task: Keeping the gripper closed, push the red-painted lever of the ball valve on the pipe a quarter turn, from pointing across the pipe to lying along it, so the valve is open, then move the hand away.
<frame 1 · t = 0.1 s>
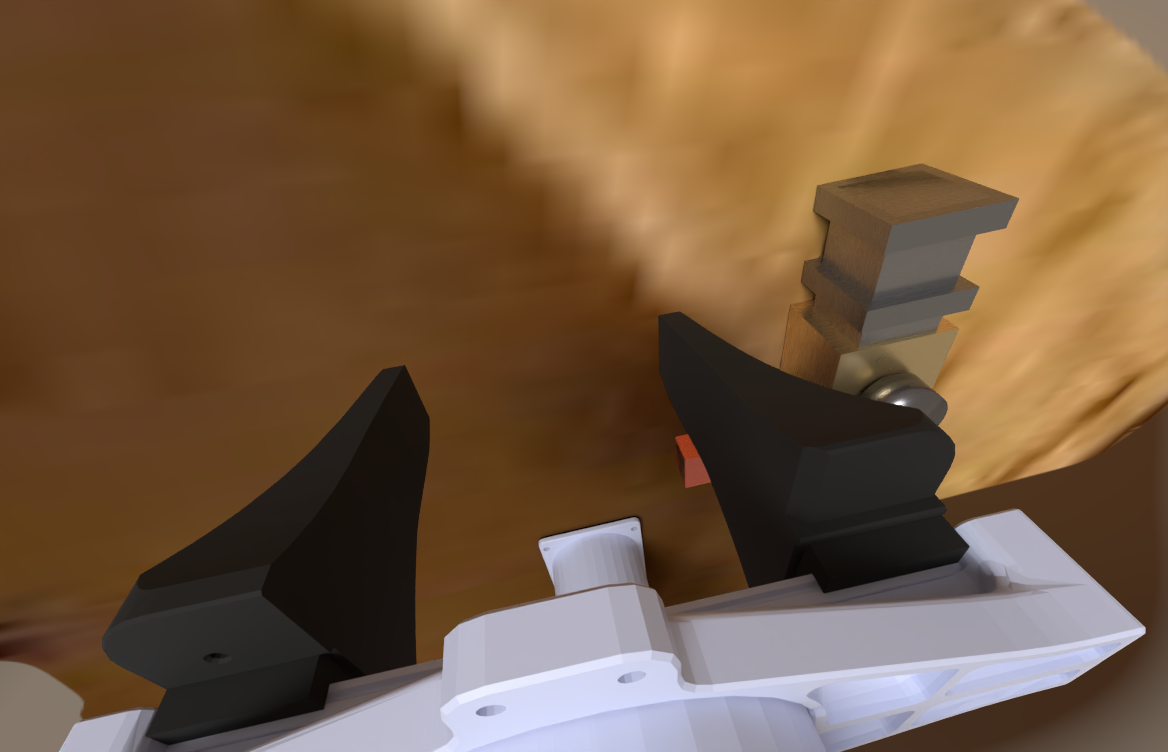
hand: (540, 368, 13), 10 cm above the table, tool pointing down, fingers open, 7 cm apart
lever: (806, 432, 23), point 6 cm above the table, hinge at 0.0°
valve: (829, 343, 28), on the table
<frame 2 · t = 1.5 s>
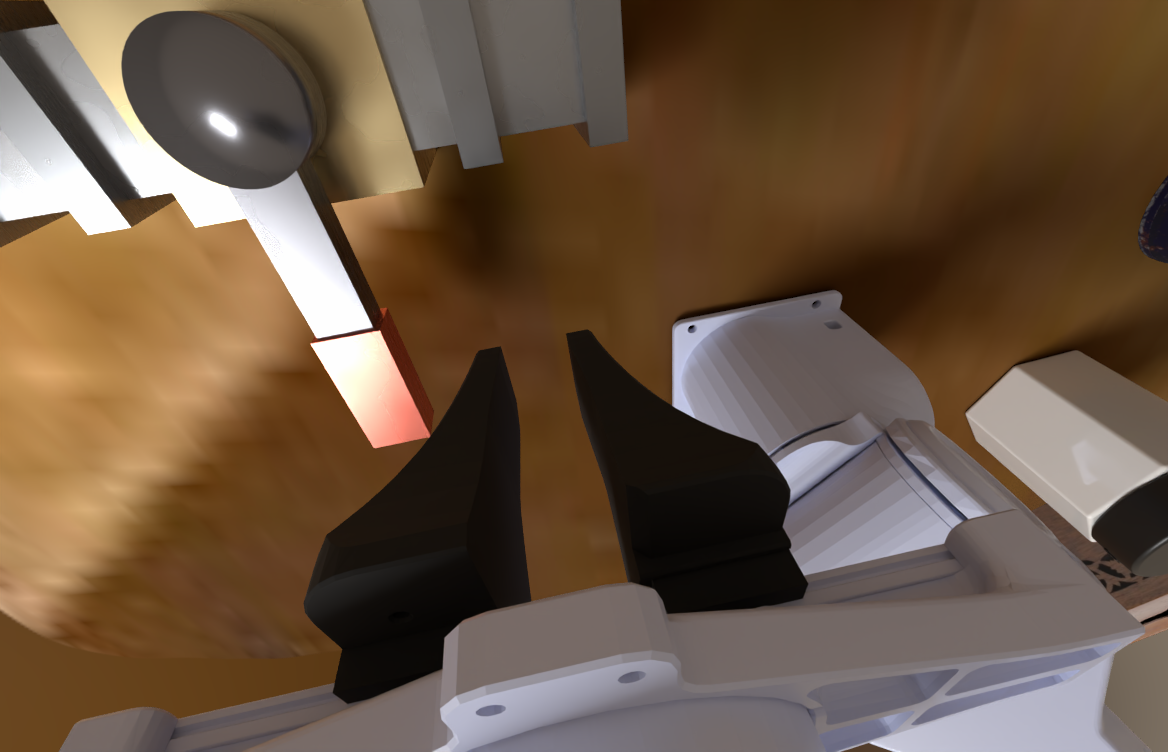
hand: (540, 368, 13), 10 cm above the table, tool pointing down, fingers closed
tissue box cover: (1075, 511, 50), on the table
lever: (328, 279, 15), point 6 cm above the table, hinge at 0.0°
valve: (308, 75, 16), on the table
jar: (1018, 395, 35), on the table
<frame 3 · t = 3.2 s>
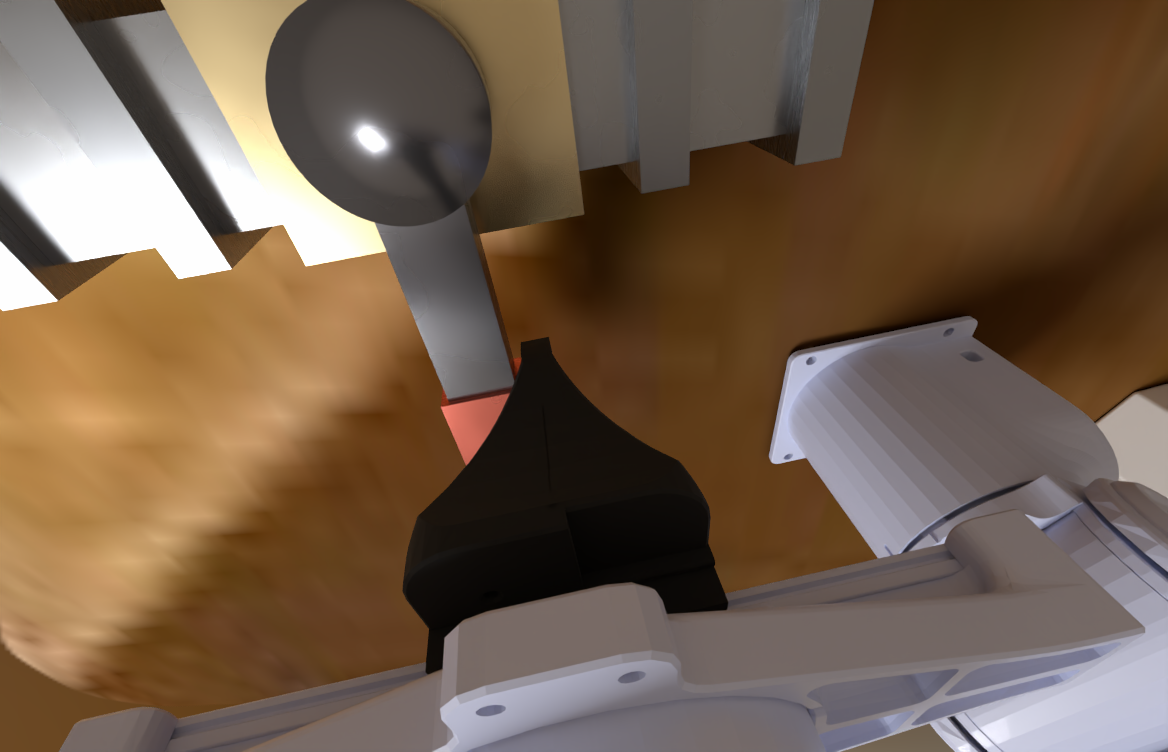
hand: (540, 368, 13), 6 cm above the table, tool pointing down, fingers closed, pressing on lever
lever: (466, 329, 12), point 6 cm above the table, hinge at 0.2°, touching gripper
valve: (425, 77, 13), on the table
jar: (1129, 421, 32), on the table
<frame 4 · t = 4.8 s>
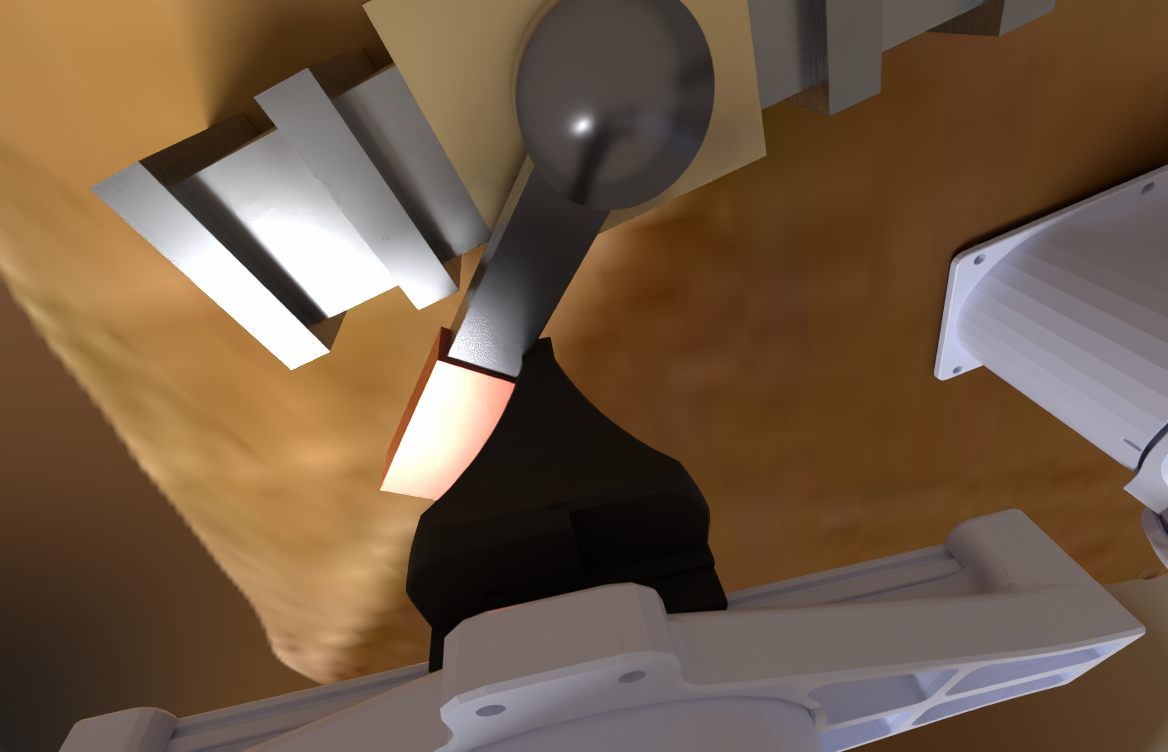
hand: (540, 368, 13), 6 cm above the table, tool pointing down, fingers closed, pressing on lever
lever: (506, 302, 11), point 6 cm above the table, hinge at 51.7°, touching gripper
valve: (563, 67, 14), on the table
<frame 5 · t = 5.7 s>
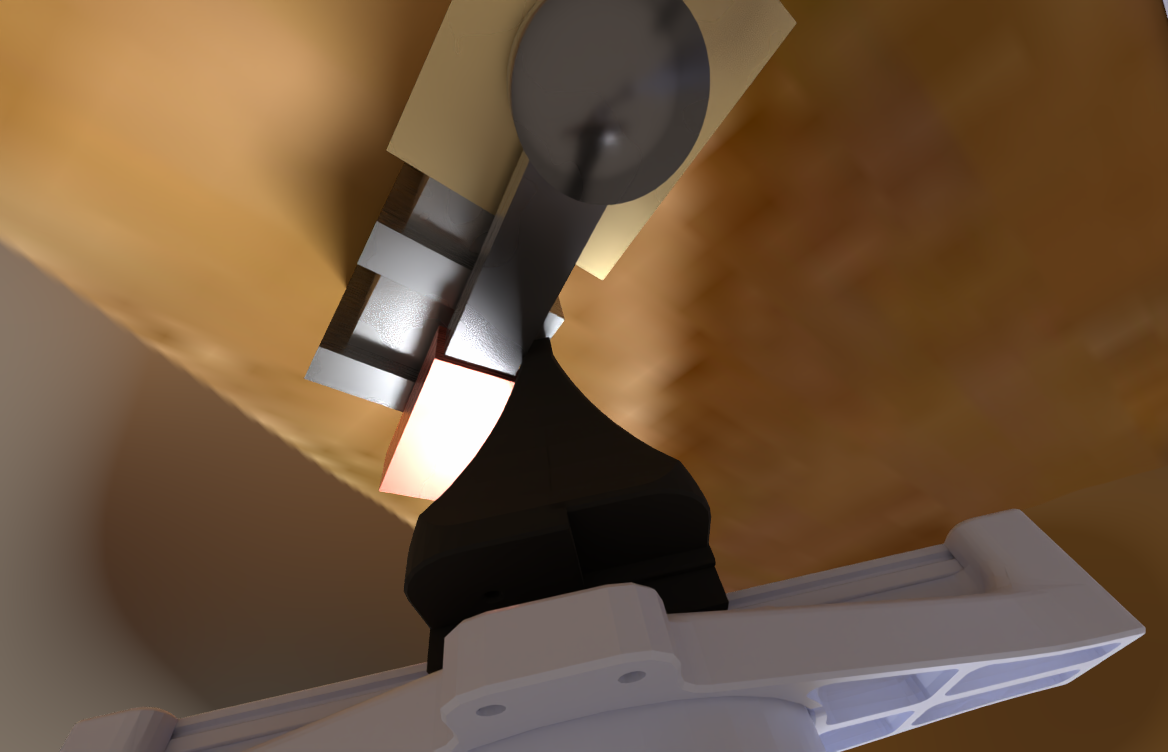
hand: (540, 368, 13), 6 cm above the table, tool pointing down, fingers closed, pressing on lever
lever: (504, 300, 11), point 6 cm above the table, hinge at 83.1°, touching gripper
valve: (559, 66, 14), on the table
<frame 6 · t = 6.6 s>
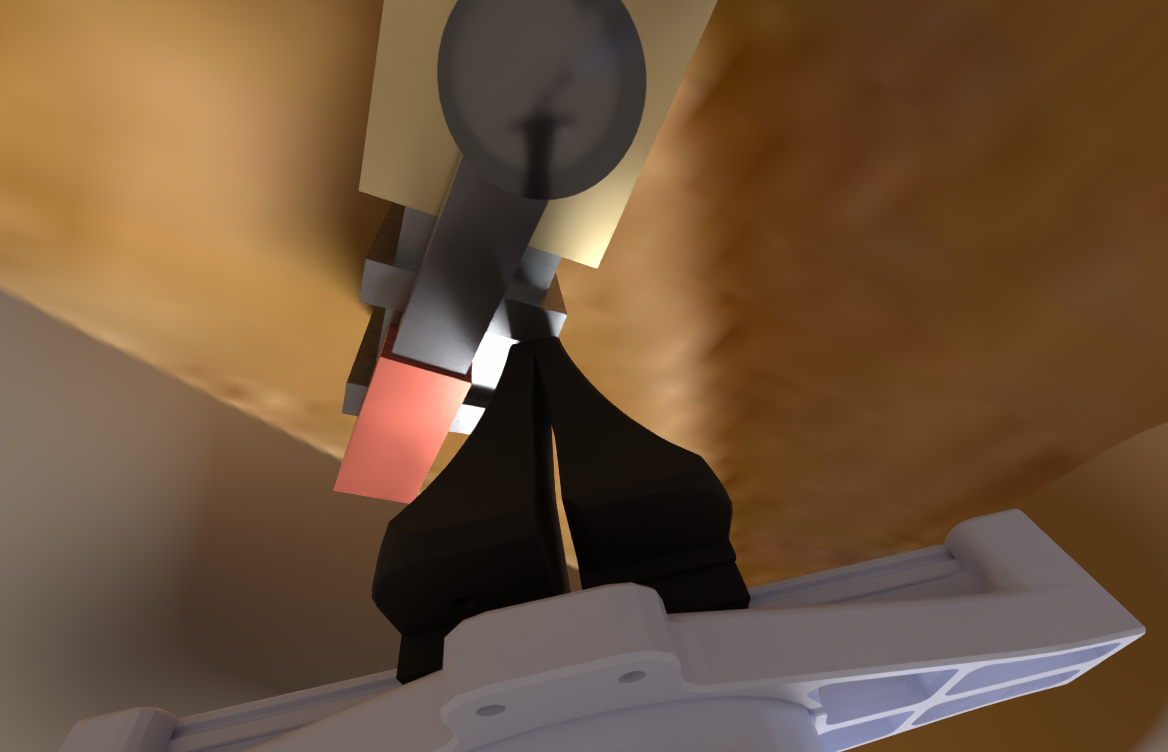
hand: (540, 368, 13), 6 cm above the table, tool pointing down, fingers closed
lever: (453, 297, 11), point 6 cm above the table, hinge at 96.1°
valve: (521, 60, 13), on the table
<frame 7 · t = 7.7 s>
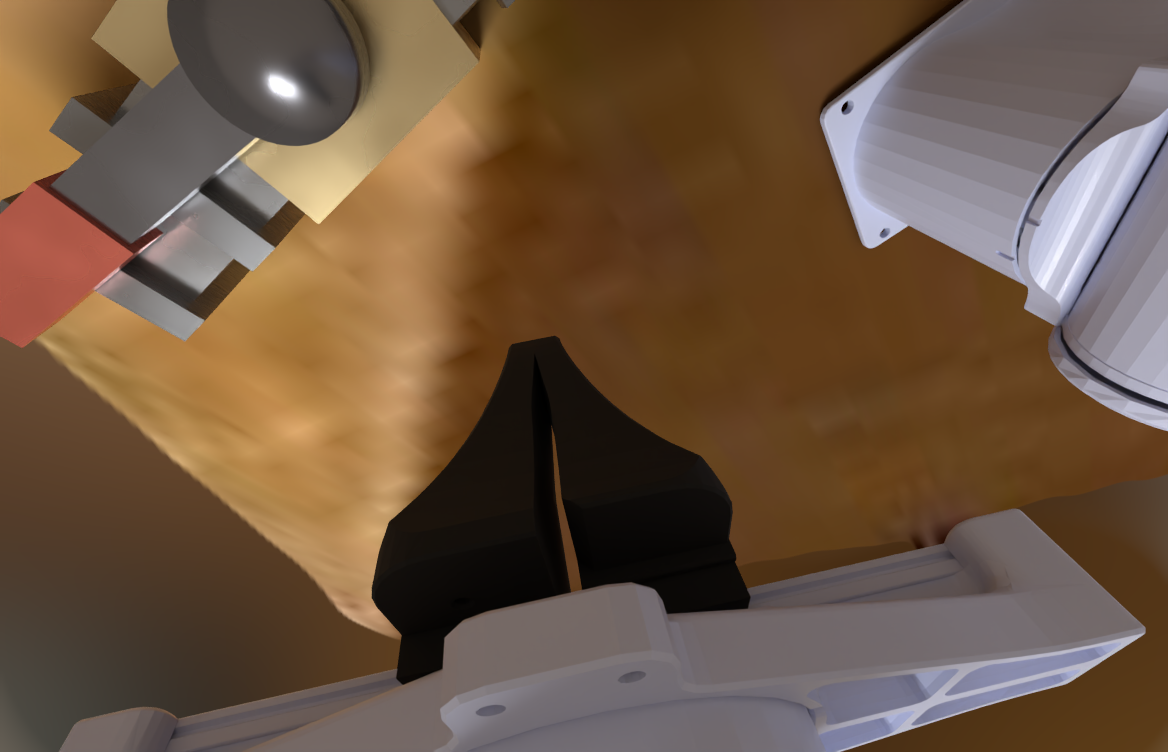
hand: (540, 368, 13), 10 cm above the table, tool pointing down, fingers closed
lever: (147, 173, 12), point 6 cm above the table, hinge at 96.1°
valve: (341, 40, 16), on the table
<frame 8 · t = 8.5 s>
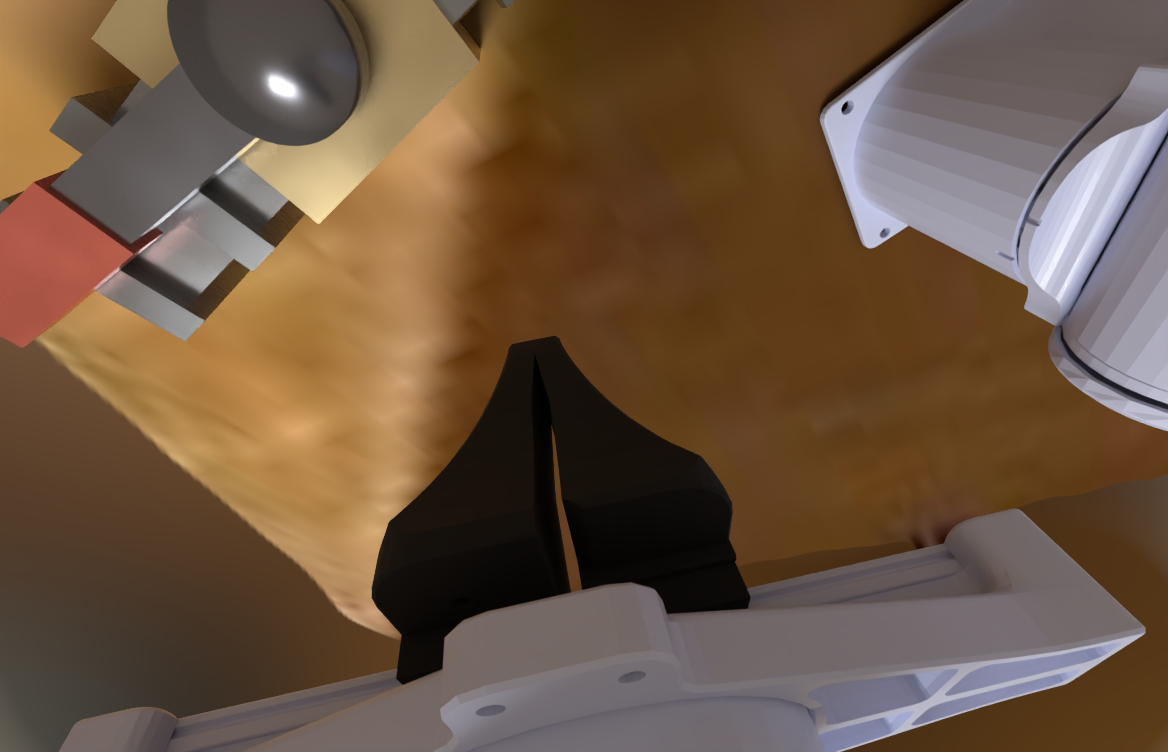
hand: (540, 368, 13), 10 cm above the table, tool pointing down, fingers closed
lever: (147, 173, 12), point 6 cm above the table, hinge at 96.1°
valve: (341, 40, 16), on the table
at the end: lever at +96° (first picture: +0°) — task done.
